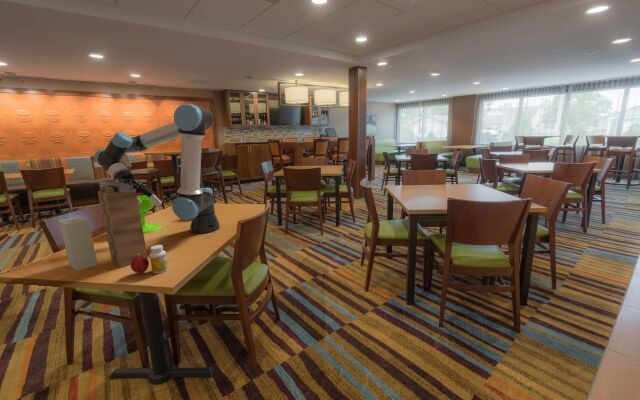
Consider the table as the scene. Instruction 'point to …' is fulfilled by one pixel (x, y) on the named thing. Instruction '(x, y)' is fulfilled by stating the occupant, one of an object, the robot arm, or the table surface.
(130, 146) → the robot arm
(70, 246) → the rest block
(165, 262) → the supplement bottle
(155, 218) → the table surface
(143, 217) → the wineglass
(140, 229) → the stand
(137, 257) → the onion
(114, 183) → the bar
